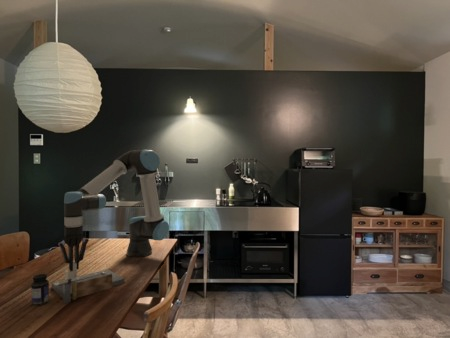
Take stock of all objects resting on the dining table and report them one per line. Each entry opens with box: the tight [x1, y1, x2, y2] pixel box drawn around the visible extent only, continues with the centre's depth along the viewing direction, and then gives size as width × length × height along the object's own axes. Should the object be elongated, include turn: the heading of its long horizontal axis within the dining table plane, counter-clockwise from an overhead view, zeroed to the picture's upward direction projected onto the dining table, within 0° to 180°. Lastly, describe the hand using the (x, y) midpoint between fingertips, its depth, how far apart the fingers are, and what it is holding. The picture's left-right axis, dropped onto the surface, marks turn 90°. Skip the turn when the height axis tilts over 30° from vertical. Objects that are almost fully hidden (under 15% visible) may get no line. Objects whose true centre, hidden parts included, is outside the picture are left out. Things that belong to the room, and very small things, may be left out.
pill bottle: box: [30, 273, 50, 307], centre depth 125 cm, size 6×6×11 cm
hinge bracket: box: [62, 283, 72, 304], centre depth 126 cm, size 2×3×7 cm, turn 45°
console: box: [51, 268, 125, 299], centre depth 143 cm, size 26×18×3 cm
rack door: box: [71, 274, 113, 301], centre depth 134 cm, size 17×2×7 cm, turn 135°
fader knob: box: [64, 269, 74, 283], centre depth 141 cm, size 2×4×5 cm, turn 44°
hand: (73, 276), depth 143 cm, fingers closed
